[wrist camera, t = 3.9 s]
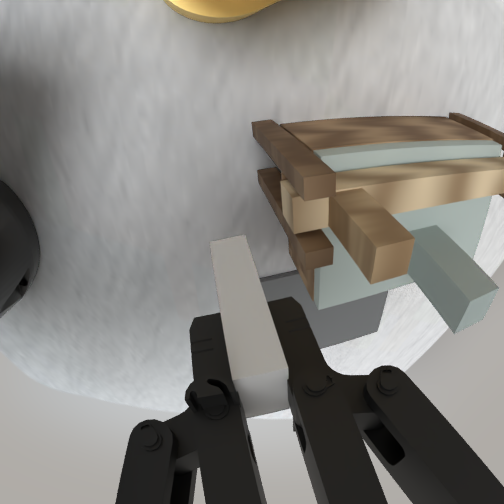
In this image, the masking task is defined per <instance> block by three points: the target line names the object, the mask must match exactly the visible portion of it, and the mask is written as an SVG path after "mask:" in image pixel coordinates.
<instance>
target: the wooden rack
mask: <svg viewBox="0 0 504 504" xmlns="http://www.w3.org/2000/svg"><path fill="white" fill-rule="evenodd" d="M280 126H281V127H280ZM280 126H279V125H278V124H276V123H275V122H274V121H273V120H264V121H257V122H252V130H253V137H254V138H255V139H256V140H257V141H258V143H259V144H260V145H261V146H262V148H263V149H264V150H265V151H266V153H267V154H268V155H269V156H270V158H271V159H272V160H273V161H274V163H275V164H276V165H277V167H278V168H279V169H280V170H281V173H280V172H279V171H278V169H277V168H276V167H273V168H267V169H261V170H257V172H258V181H259V184H260V186H261V188H262V190H263V192H264V193H265V195H266V197H267V199H268V201H269V203H270V205H271V206H272V208H273V210H274V212H275V214H276V216H277V217H278V219H279V221H280V223H281V225H282V227H283V229H284V231H285V232H286V234H287V236H288V239H289V254H290V256H291V258H292V260H293V262H294V264H295V266H296V268H297V270H298V272H299V274H300V276H301V278H302V280H303V282H304V284H305V286H306V289H307V291H308V293H309V295H310V297H311V299H312V301H314V269H316V268H320V267H324V266H329V265H333V253H334V246H333V245H332V244H331V242H330V241H329V239H328V238H327V236H326V235H325V234H324V232H323V231H322V229H317V230H312V231H307V232H302V233H297V234H294V233H293V231H292V230H291V228H290V226H289V224H288V223H287V221H286V219H285V217H284V216H283V210H282V196H281V183H280V181H283V180H288V181H289V182H290V183H291V185H292V186H293V187H294V189H295V190H296V191H297V192H298V194H299V195H300V196H301V198H302V199H303V200H304V202H305V201H310V200H316V199H322V198H327V197H333V196H336V172H334V171H333V170H332V169H331V168H330V167H329V166H328V165H326V164H325V163H324V162H323V161H322V160H321V159H319V158H318V157H317V156H316V155H315V154H314V152H313V150H321V149H329V148H338V147H348V146H358V145H369V144H382V143H396V142H414V141H439V140H493V141H495V142H497V143H499V144H501V145H502V150H504V133H502V132H500V131H498V130H496V129H494V128H492V127H490V126H487V125H485V124H483V123H481V122H479V121H476V120H474V119H472V118H469V117H467V116H465V115H462V114H460V113H449V118H446V117H435V116H381V117H356V118H340V119H327V120H315V121H305V122H296V123H287V124H280ZM503 157H504V153H503ZM499 195H500V196H502V197H503V198H504V193H503V194H499Z"/></svg>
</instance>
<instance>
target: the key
mask: <svg viewBox="0 0 504 504" xmlns="http://www.w3.org/2000/svg"><path fill="white" fill-rule="evenodd" d="M280 183H281V196H282V210H283V216H284V217H285V219H286V221H287V223H288V224H289V226H290V228H291V230H292V231H293V233H294V234H297V233H302V232H307V231H312V230H317V229H322V228H327V227H330V229H331V230H332V231H333V233H334V234H335V235H336V237H337V238H338V240H339V241H340V242H341V244H342V245H343V246H344V248H345V249H346V250H347V252H348V253H349V255H350V256H351V257H352V259H353V260H354V262H355V263H356V265H357V266H358V267H359V269H360V270H361V272H362V273H363V274H364V276H365V277H366V279H367V280H368V282H369V283H370V285H371V284H374V283H378V282H381V281H385V280H388V279H392V278H395V277H398V276H402V275H405V274H407V271H408V267H409V263H410V259H411V255H412V251H413V246H414V242H415V238H414V236H413V235H412V234H411V233H410V232H409V231H408V230H407V229H406V228H404V227H403V226H402V225H401V224H400V223H399V222H398V221H397V220H396V219H395V218H394V217H393V216H392V214H397V213H403V212H408V211H413V210H418V209H423V208H428V207H434V206H439V205H444V204H449V203H455V202H460V201H465V200H470V199H476V198H481V197H486V196H492V195H497V194H503V193H504V157H494V158H474V159H458V160H444V161H432V162H421V163H410V164H400V165H391V166H382V167H374V168H365V169H358V170H350V171H342V172H336V196H333V197H327V198H322V199H316V200H310V201H305V202H304V200H303V199H302V198H301V196H300V195H299V194H298V192H297V191H296V190H295V189H294V187H293V186H292V185H291V183H290V182H289V181H288V180H283V181H280Z"/></svg>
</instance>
